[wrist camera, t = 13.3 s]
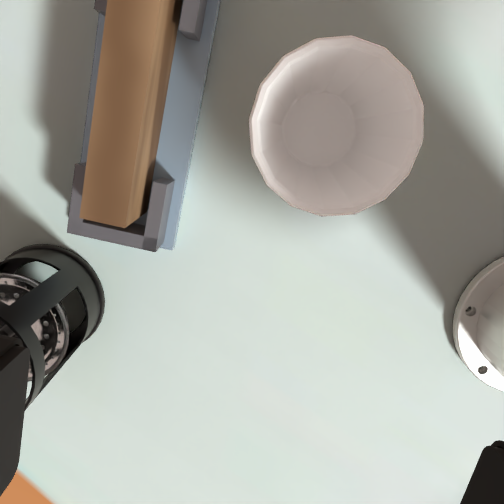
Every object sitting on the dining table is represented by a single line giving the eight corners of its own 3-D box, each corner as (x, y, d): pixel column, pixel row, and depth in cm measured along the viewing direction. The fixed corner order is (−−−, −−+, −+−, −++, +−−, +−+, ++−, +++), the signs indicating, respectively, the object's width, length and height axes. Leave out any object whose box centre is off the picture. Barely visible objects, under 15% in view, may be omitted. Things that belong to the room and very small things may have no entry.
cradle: (227, -37, 32) (222, -60, 28) (174, 247, 38) (164, 260, 34) (114, -65, 32) (93, -92, 28) (77, 225, 37) (55, 236, 33)
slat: (184, -12, 32) (167, -44, 26) (147, 212, 36) (124, 228, 30) (141, -23, 32) (114, -57, 26) (108, 203, 36) (79, 218, 30)
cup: (338, 218, 37) (362, 247, 28) (228, 155, 36) (216, 164, 27) (410, 103, 34) (462, 94, 25) (294, 32, 33) (306, -4, 24)
